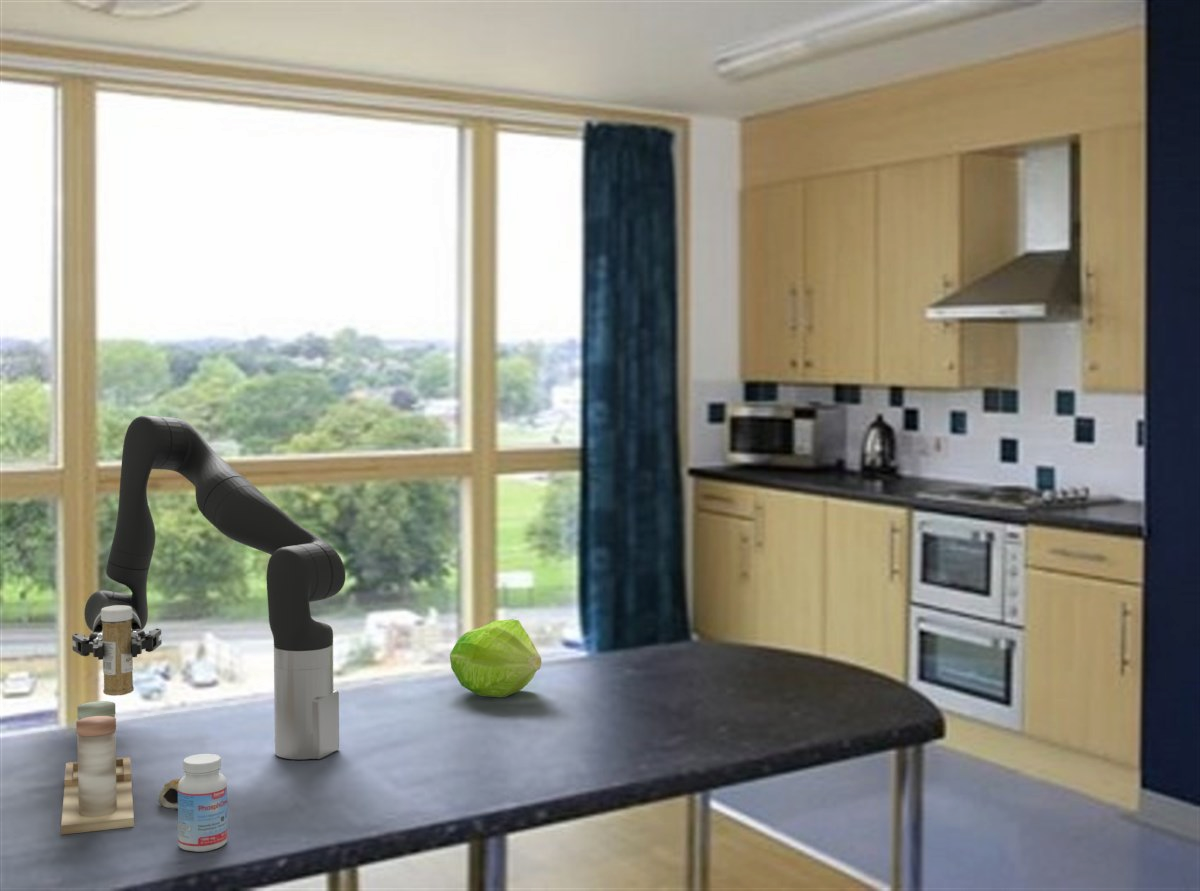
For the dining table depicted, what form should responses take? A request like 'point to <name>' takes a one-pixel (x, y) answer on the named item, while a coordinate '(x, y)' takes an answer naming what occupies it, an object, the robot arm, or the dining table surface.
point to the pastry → (169, 795)
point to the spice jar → (117, 650)
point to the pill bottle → (202, 804)
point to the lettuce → (495, 659)
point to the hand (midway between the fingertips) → (117, 651)
